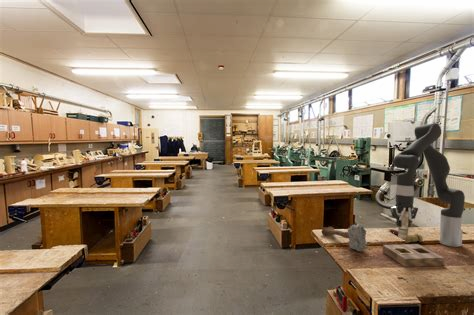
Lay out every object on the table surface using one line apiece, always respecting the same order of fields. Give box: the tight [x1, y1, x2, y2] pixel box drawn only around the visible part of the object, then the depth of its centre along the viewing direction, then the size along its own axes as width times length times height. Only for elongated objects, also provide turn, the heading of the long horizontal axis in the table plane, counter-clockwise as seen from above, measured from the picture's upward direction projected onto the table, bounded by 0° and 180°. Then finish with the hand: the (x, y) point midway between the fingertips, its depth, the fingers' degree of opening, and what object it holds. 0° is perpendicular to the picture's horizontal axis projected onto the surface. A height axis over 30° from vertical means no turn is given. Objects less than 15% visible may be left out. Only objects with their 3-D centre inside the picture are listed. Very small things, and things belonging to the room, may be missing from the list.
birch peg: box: [397, 211, 409, 240], centre depth 122 cm, size 4×4×14 cm
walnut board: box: [382, 243, 445, 268], centre depth 123 cm, size 20×16×4 cm
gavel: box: [388, 228, 424, 244], centre depth 153 cm, size 21×5×10 cm
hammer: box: [321, 224, 368, 252], centre depth 143 cm, size 15×10×30 cm
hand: (403, 226), depth 122 cm, fingers closed on birch peg, 4 cm apart
